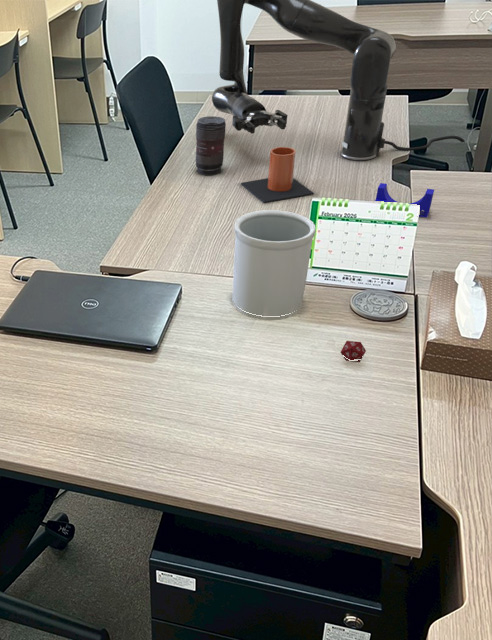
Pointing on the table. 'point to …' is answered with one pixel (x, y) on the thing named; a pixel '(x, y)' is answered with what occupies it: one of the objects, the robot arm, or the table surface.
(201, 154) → the camera lens
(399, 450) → the table surface
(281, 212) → the utensil holder
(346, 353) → the dice
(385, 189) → the blue cradle bracket
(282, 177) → the cup
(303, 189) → the desk mat
